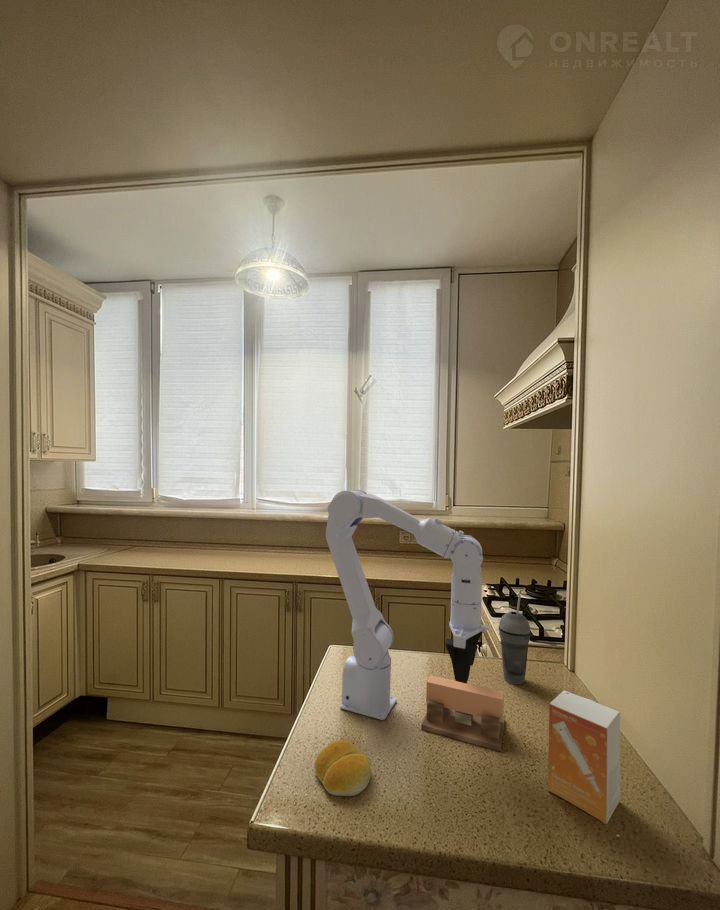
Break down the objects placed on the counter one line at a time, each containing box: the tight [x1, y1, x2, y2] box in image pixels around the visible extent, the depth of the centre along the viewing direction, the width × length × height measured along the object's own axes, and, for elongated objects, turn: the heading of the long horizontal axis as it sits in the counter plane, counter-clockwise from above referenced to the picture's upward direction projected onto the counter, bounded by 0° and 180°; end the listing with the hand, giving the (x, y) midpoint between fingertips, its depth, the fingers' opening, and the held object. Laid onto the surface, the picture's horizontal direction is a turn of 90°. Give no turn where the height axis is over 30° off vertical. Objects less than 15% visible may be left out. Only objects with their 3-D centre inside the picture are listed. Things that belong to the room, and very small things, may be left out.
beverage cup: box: [497, 593, 532, 685], centre depth 95 cm, size 7×7×20 cm
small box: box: [547, 690, 621, 825], centre depth 60 cm, size 8×6×13 cm
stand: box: [420, 700, 506, 752], centre depth 77 cm, size 14×10×4 cm
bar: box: [425, 674, 505, 723], centre depth 77 cm, size 14×3×4 cm, turn 67°
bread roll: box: [314, 740, 372, 797], centre depth 63 cm, size 8×9×4 cm
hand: (464, 672), depth 77 cm, fingers open, 7 cm apart
